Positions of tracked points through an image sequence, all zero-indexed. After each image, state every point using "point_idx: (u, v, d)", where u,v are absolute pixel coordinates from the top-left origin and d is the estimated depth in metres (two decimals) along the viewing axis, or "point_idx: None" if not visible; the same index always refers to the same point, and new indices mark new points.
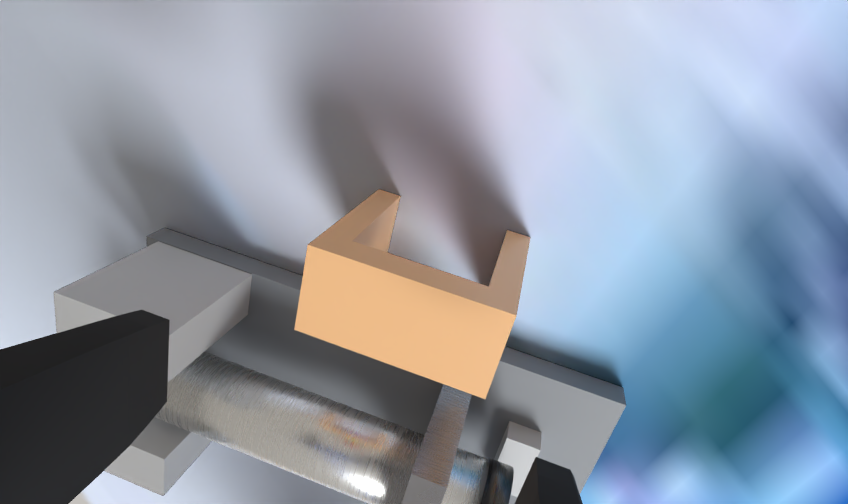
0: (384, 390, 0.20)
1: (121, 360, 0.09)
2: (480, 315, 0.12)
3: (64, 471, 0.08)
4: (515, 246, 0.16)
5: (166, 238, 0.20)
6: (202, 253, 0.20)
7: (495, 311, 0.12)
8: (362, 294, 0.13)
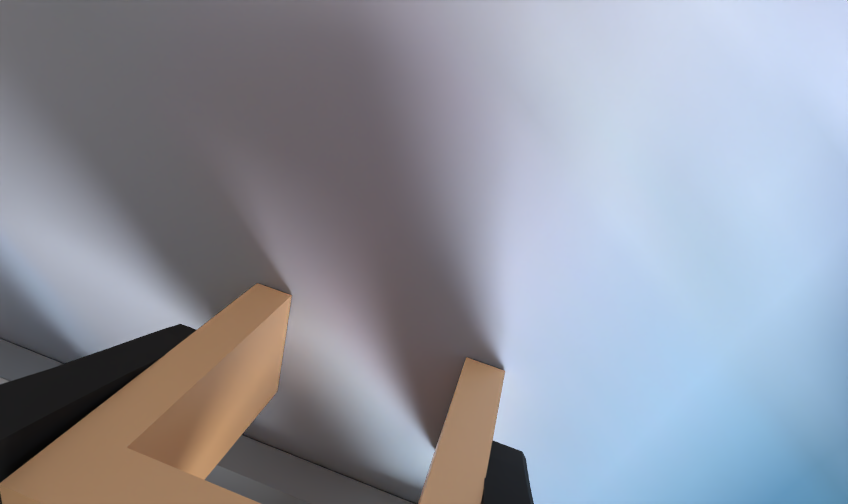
0: None
1: None
2: None
3: None
4: (475, 402, 0.09)
5: None
6: (0, 370, 0.13)
7: None
8: None
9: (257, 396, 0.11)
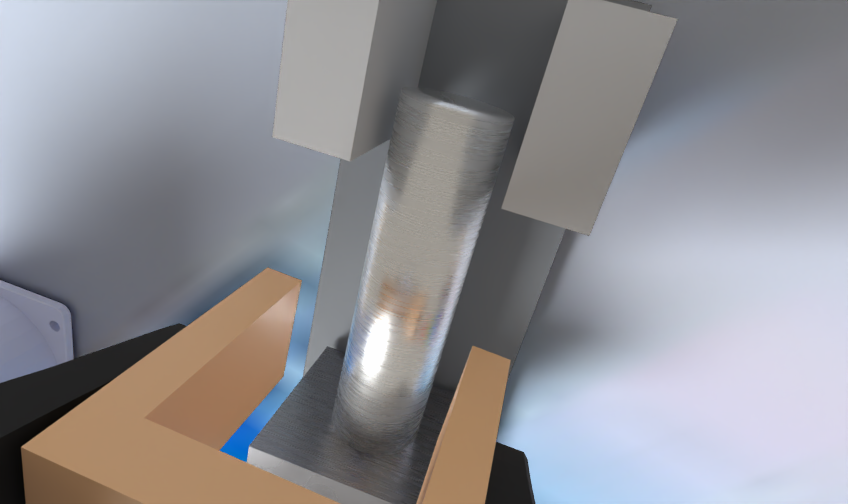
0: None
1: None
2: None
3: None
4: (482, 388, 0.09)
5: None
6: None
7: None
8: None
9: (264, 379, 0.11)
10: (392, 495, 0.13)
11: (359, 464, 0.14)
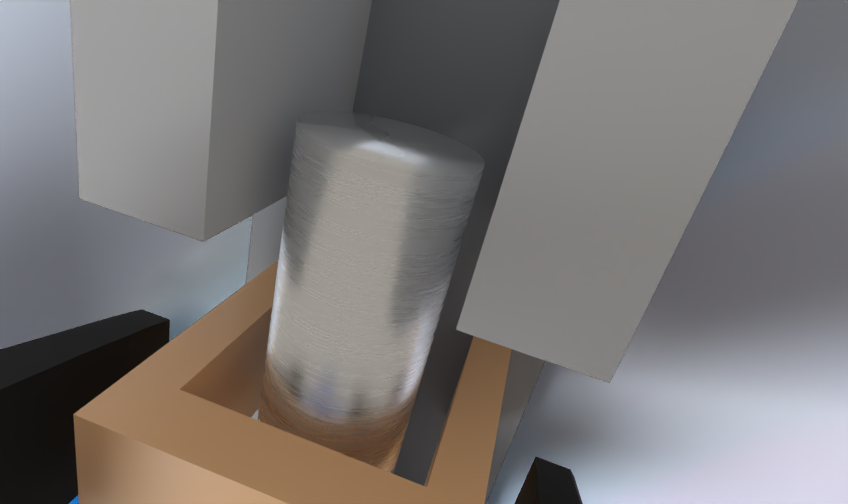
0: None
1: (121, 360, 0.09)
2: None
3: (64, 471, 0.08)
4: (487, 362, 0.10)
5: None
6: None
7: None
8: None
9: None
10: None
11: None
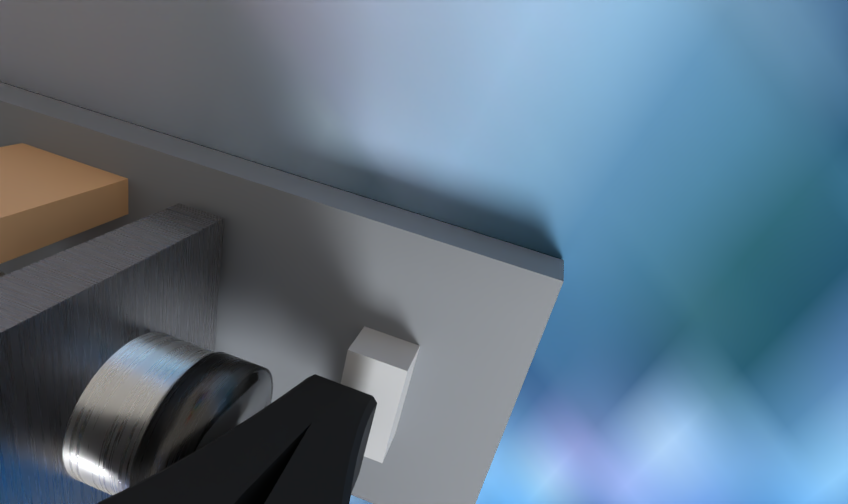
0: None
1: None
2: None
3: None
4: None
5: None
6: None
7: None
8: None
9: None
10: None
11: None
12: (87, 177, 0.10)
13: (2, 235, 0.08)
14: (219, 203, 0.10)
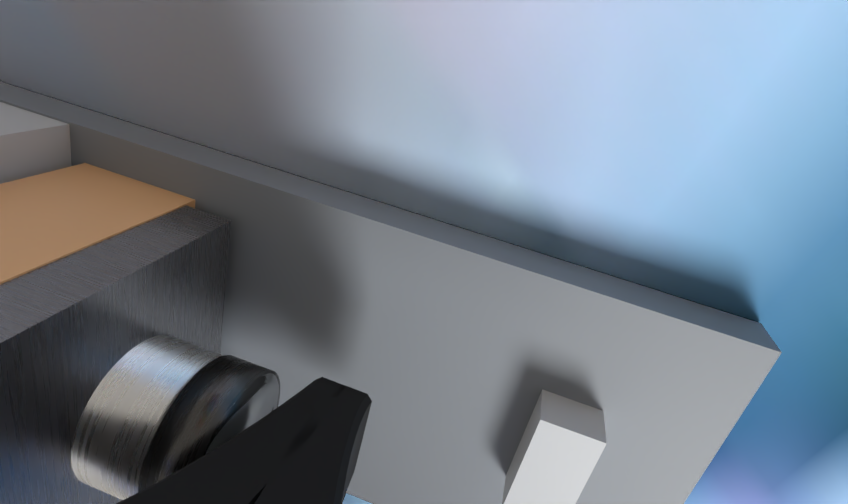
0: (315, 338, 0.11)
1: None
2: None
3: None
4: None
5: None
6: None
7: None
8: None
9: None
10: None
11: None
12: (156, 199, 0.10)
13: None
14: (394, 261, 0.10)
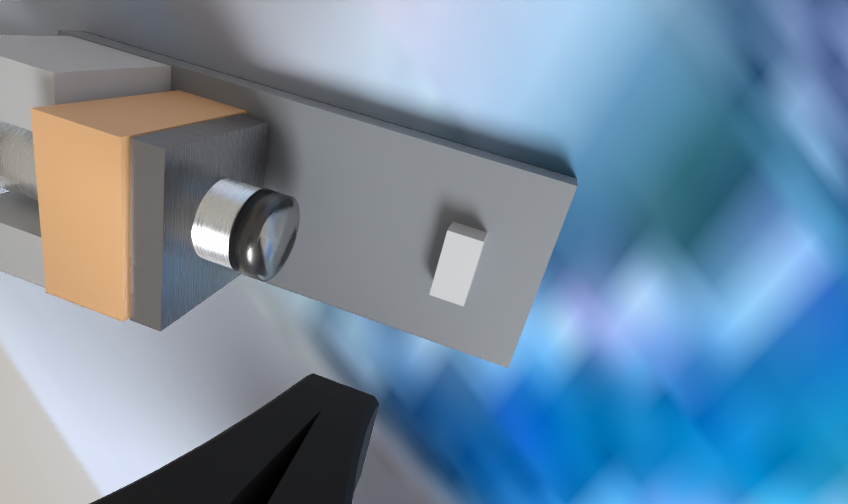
0: (318, 198, 0.18)
1: None
2: (43, 142, 0.13)
3: None
4: None
5: (80, 35, 0.18)
6: (118, 47, 0.18)
7: (34, 127, 0.13)
8: (67, 251, 0.14)
9: None
10: (136, 190, 0.13)
11: None
12: (225, 108, 0.17)
13: None
14: (365, 144, 0.17)
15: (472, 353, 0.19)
